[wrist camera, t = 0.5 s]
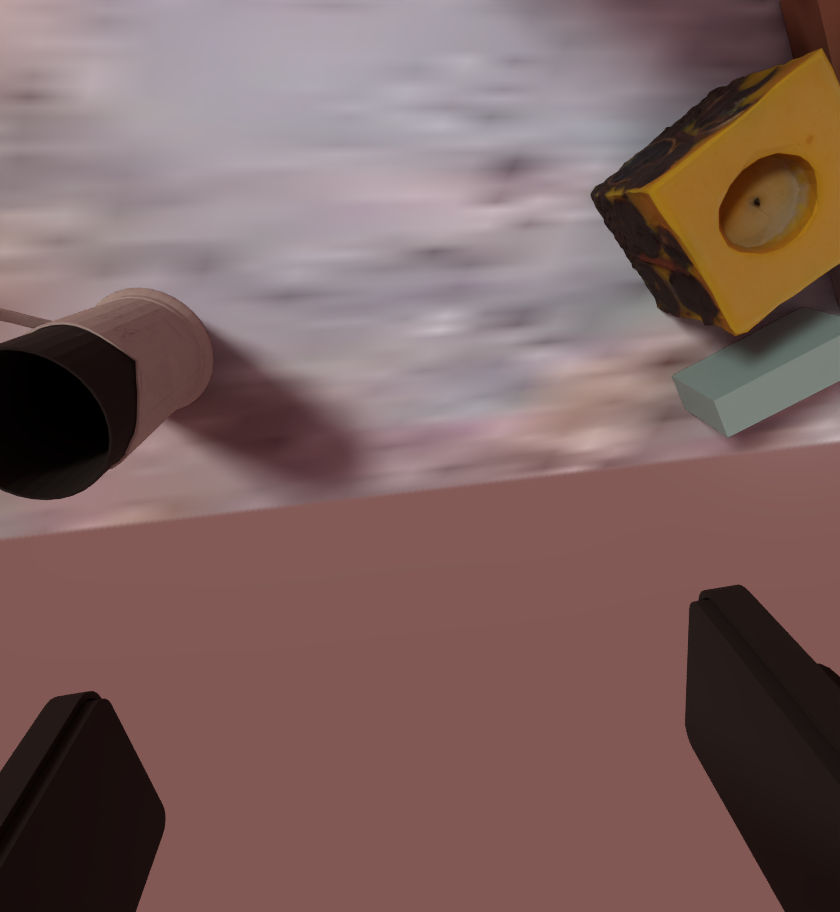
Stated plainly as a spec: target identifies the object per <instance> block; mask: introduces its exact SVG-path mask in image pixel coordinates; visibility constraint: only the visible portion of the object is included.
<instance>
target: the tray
mask: <svg viewBox="0 0 840 912" xmlns="http://www.w3.org/2000/svg"><path fill="white" fill-rule="evenodd" d="M829 271H830V275H831V278H832V282H833V286H834V290H835V294H836V297H837V301H838V305H839V309H840V264H838V265H836V266H835V267H833V268H832V269H831V270H829Z"/></svg>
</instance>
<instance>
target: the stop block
mask: <svg viewBox="0 0 840 912" xmlns="http://www.w3.org/2000/svg"><path fill="white" fill-rule="evenodd" d="M672 378H673V380H674V383H675V385H676V388H677V390H678V393H679V395H680V397H681V400H682V402H683V405H684V407H685V409H686V410H687V411H689V412H690V413H692V414H693V415H695V416H696V417H698V418H699V419H701V420H702V421H704V422H705V423H707V424H708V425H710V426H711V427H713V428H714V429H716V430H717V431H719V432H720V433H722V434H723V435H725V436H726V437H730V436H732V435H734V434H736V433H738V432H740V431H742V430H744V429H746V428H748V427H750V426H752V425H754V424H756V423H758V422H760V421H762V420H764V419H766V418H768V417H770V416H772V415H774V414H775V413H777V412H779V411H781V410H783V409H785V408H787V407H789V406H791V405H793V404H795V403H797V402H799V401H801V400H803V399H805V398H807V397H809V396H811V395H813V394H815V393H817V392H819V391H821V390H823V389H825V388H827V387H829V386H831V385H833V384H835V383H837V382H839V381H840V316H838V315H834V314H829V313H825V312H821V311H817V310H813V309H808V308H804V307H801V308H799V309H797V310H795V311H793V312H791V313H790V314H788V315H786V316H784V317H782V318H780V319H778V320H776V321H774V322H773V323H771V324H769V325H767V326H765V327H763V328H761V329H759V330H758V331H756V332H754V333H752V334H750V335H748V336H746V337H744V338H743V339H741V340H739V341H737V342H735V343H733V344H731V345H729V346H728V347H726V348H724V349H722V350H720V351H718V352H716V353H714V354H713V355H711V356H709V357H707V358H705V359H703V360H701V361H699V362H698V363H696V364H694V365H692V366H690V367H688V368H686V369H684V370H682V371H681V372H679V373H677V374H675V375H673V376H672Z"/></svg>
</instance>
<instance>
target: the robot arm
mask: <svg viewBox="0 0 840 912" xmlns="http://www.w3.org/2000/svg"><path fill="white" fill-rule="evenodd" d="M685 727H686V731H687V735H688V738H689V741H690V744H691V746H692V748H693V750H694V751H695V753H696V755H697V757H698V759H699V760H700V762H701V764H702V766H703V768H704V769H705V771H706V773H707V775H708V776H709V778H710V780H711V782H712V783H713V785H714V787H715V789H716V791H717V792H718V794H719V796H720V798H721V799H722V801H723V803H724V805H725V807H726V808H727V810H728V812H729V814H730V815H731V817H732V819H733V821H734V822H735V824H736V826H737V828H738V830H739V831H740V833H741V835H742V836H743V838H744V840H745V842H746V844H747V845H748V847H749V849H750V851H751V852H752V854H753V856H754V858H755V860H756V862H757V863H758V865H759V867H760V869H761V870H762V872H763V874H764V875H765V877H766V879H767V881H768V883H769V884H770V886H771V888H772V890H773V892H774V893H775V895H776V897H777V899H778V901H779V902H780V904H781V906H782V908H783V909H784V911H785V912H840V677H839V676H838V675H837V674H836V673H835V672H834V671H832V670H831V669H830V668H828V667H826V666H824V665H822V664H817V663H816V662H815V661H814V660H813V659H812V658H811V657H810V656H809V655H808V654H807V653H806V652H805V651H804V650H803V649H802V647H801V646H799V644H798V643H797V642H796V641H795V640H794V639H793V638H792V637H791V636H790V635H789V633H788V632H787V631H786V630H785V629H784V628H783V627H782V626H781V625H780V624H779V623H778V622H777V621H776V620H775V619H774V618H773V616H771V614H770V613H769V612H768V611H767V610H766V609H765V608H764V607H763V606H762V605H761V604H760V603H759V602H758V600H757V599H756V598H755V597H754V596H753V595H752V594H751V593H750V592H749V591H748V590H747V589H746V588H745V587H743V586H741V585H733V586H727V587H721V588H715V589H709V590H704V591H702V592H701V593H700V595H699V600H698V601H696V602H692V603H691V604H690V608H689V631H688V658H687V686H686V712H685ZM164 828H165V810H164V807H163V804H162V802H161V800H160V799H159V797H158V795H157V793H156V791H155V789H154V787H153V785H152V783H151V781H150V779H149V777H148V775H147V773H146V771H145V769H144V767H143V765H142V763H141V761H140V759H139V758H138V755H137V753H136V751H135V750H134V748H133V746H132V744H131V742H130V740H129V738H128V736H127V734H126V732H125V730H124V728H123V726H122V724H121V722H120V720H119V718H118V716H117V714H116V712H115V710H114V709H113V706H112V705H111V703H110V702H109V700H107V699H101V697H100V696H99V694H97V693H96V692H94V691H89V692H82V693H76V694H70V695H64V696H57V697H54V698H53V699H51V700H50V701H49V702H48V703H47V704H46V705H45V707H44V708H43V710H42V711H41V712H40V714H39V715H38V717H37V718H36V720H35V721H34V723H33V724H32V726H31V727H30V729H29V730H28V732H27V733H26V735H25V736H24V738H23V739H22V741H21V742H20V743H19V745H18V747H17V748H16V749H15V751H14V752H13V754H12V756H11V757H10V758H9V760H8V761H7V763H6V764H5V766H4V767H3V769H2V770H1V772H0V912H136V909H137V906H138V903H139V901H140V898H141V895H142V892H143V889H144V886H145V884H146V881H147V878H148V875H149V872H150V869H151V867H152V864H153V861H154V858H155V855H156V852H157V850H158V847H159V844H160V841H161V838H162V835H163V832H164Z"/></svg>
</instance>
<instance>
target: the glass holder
mask: <svg viewBox="0 0 840 912" xmlns="http://www.w3.org/2000/svg"><path fill="white" fill-rule="evenodd" d="M0 321H5V322H9V323H13V324H17V325H21V326H26V327H30V328H34V329H32V330H30V331H28V332H27V333H25V334H24V335H23V336H20V337H17V338H14V339H12V340H9V341H6V342H3V343H0V489H1V490H3V491H5V492H8V493H11V494H13V495H16V496H20V497H25V498H29V499H38V500H53V499H61V498H65V497H69V496H73V495H75V494H77V493H80V492H82V491H84V490H85V489H87V488H88V487H90V486H91V485H92V484H94V483H95V482H96V481H97V480H98V479H99V478H100V477H101V476H102V475H103V474H104V473H105V472H106V471H108V470H109V469H112V468H114V467H116V466H117V465H118V464H120V463H121V462H122V461H123V460H124V459H125V458H126V457H127V456H128V455H130V454H131V453H132V452H133V451H134V450H135V449H136V448H137V447H138V446H139V445H140V444H141V443H142V442H143V441H144V440H145V439H146V438H147V437H148V436H149V435H150V434H151V433H152V432H153V431H154V430H155V429H157V428H158V427H159V426H160V425H161V424H162V423H163V422H164V421H165V420H166V419H167V418H168V417H169V416H170V415H171V414H172V413H173V412H174V411H175V410H178V409H181V408H183V407H185V406H187V405H189V404H191V403H192V402H193V401H195V400H196V399H197V398H198V397H199V396H200V395H201V394H202V393H203V392H204V390H205V389H206V387H207V385H208V384H209V381H210V379H211V376H212V372H213V365H214V356H213V349H212V344H211V341H210V338H209V336H208V333H207V331H206V329H205V328H204V326H203V324H202V323H201V321H200V320H199V319H198V318H197V316H196V315H195V314H194V313H193V312H192V311H191V310H190V309H189V308H188V307H187V306H186V305H184V304H183V303H182V302H180V301H178V300H177V299H175V298H174V297H172V296H170V295H167V294H165V293H163V292H160V291H156V290H152V289H145V288H130V289H124V290H121V291H117V292H115V293H113V294H111V295H109V296H107V297H105V298H104V299H103V300H101V301H100V302H99V303H98V304H97V305H96V306H95V307H93V308H90V309H87V310H84V311H81V312H78V313H75V314H72V315H70V316H67V317H64V318H61V319H58V320H55V321H50V320H46V319H42V318H38V317H34V316H30V315H26V314H22V313H18V312H14V311H10V310H5V309H1V308H0Z"/></svg>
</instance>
